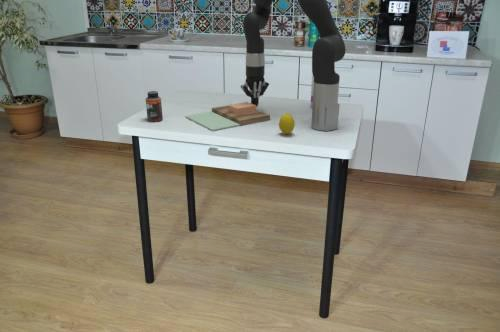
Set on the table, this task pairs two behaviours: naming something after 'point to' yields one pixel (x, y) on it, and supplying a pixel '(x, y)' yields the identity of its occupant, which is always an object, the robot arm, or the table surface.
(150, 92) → the supplement bottle
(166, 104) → the table surface
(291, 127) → the lemon
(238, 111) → the tile
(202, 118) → the mat
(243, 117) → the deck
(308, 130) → the table surface
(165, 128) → the table surface
